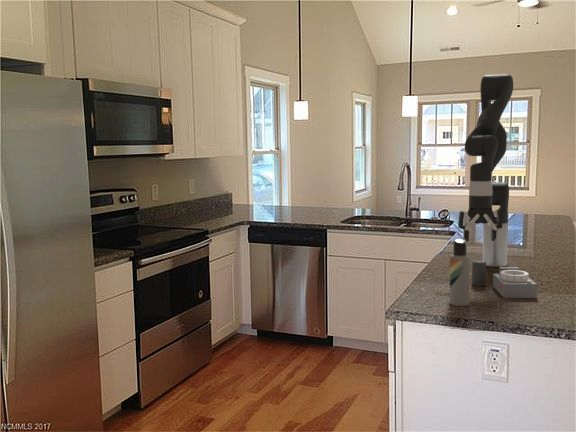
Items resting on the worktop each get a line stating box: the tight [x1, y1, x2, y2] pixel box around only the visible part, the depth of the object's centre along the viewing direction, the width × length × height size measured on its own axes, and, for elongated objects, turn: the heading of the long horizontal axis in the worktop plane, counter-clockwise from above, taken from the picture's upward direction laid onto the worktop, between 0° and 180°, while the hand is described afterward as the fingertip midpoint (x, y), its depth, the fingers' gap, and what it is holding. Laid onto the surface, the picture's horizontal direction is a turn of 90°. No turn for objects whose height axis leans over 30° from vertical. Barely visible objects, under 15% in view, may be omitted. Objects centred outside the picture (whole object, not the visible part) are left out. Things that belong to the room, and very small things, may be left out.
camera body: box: [492, 266, 538, 299], centre depth 180 cm, size 14×11×7 cm
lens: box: [471, 260, 487, 287], centre depth 191 cm, size 5×5×8 cm
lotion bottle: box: [449, 238, 471, 307], centre depth 168 cm, size 6×6×20 cm
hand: (479, 240), depth 189 cm, fingers open, 8 cm apart
